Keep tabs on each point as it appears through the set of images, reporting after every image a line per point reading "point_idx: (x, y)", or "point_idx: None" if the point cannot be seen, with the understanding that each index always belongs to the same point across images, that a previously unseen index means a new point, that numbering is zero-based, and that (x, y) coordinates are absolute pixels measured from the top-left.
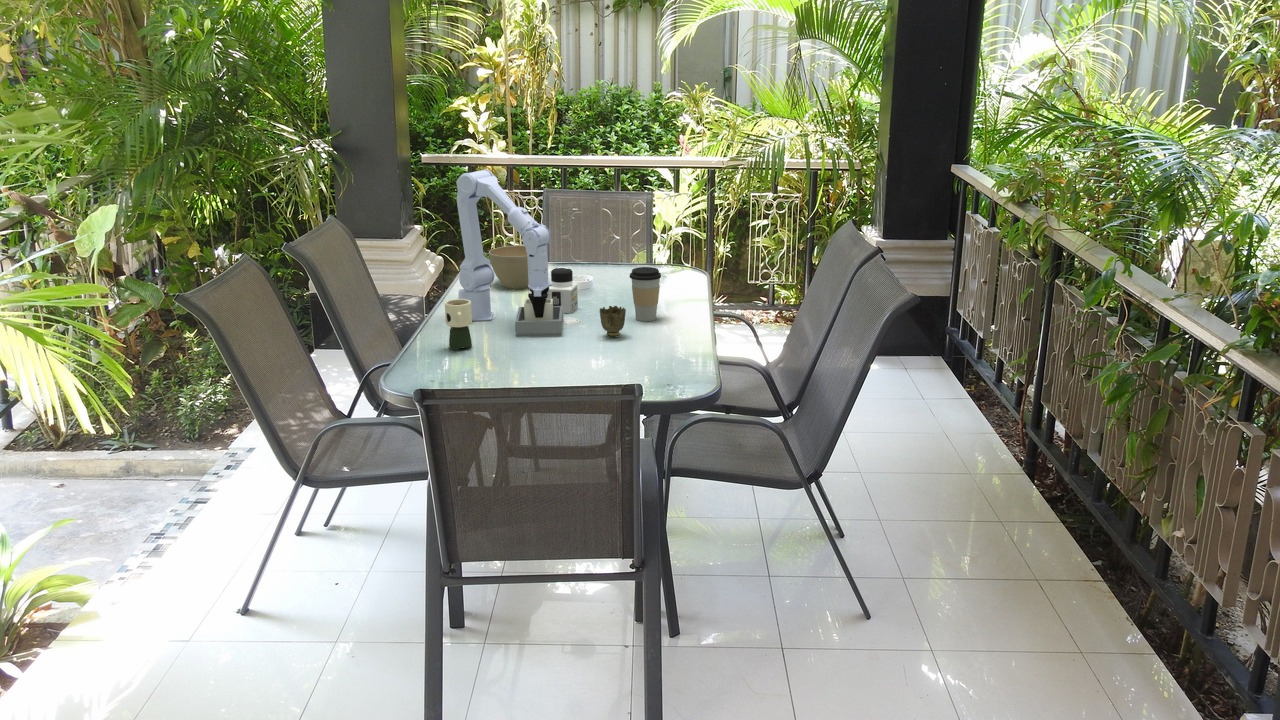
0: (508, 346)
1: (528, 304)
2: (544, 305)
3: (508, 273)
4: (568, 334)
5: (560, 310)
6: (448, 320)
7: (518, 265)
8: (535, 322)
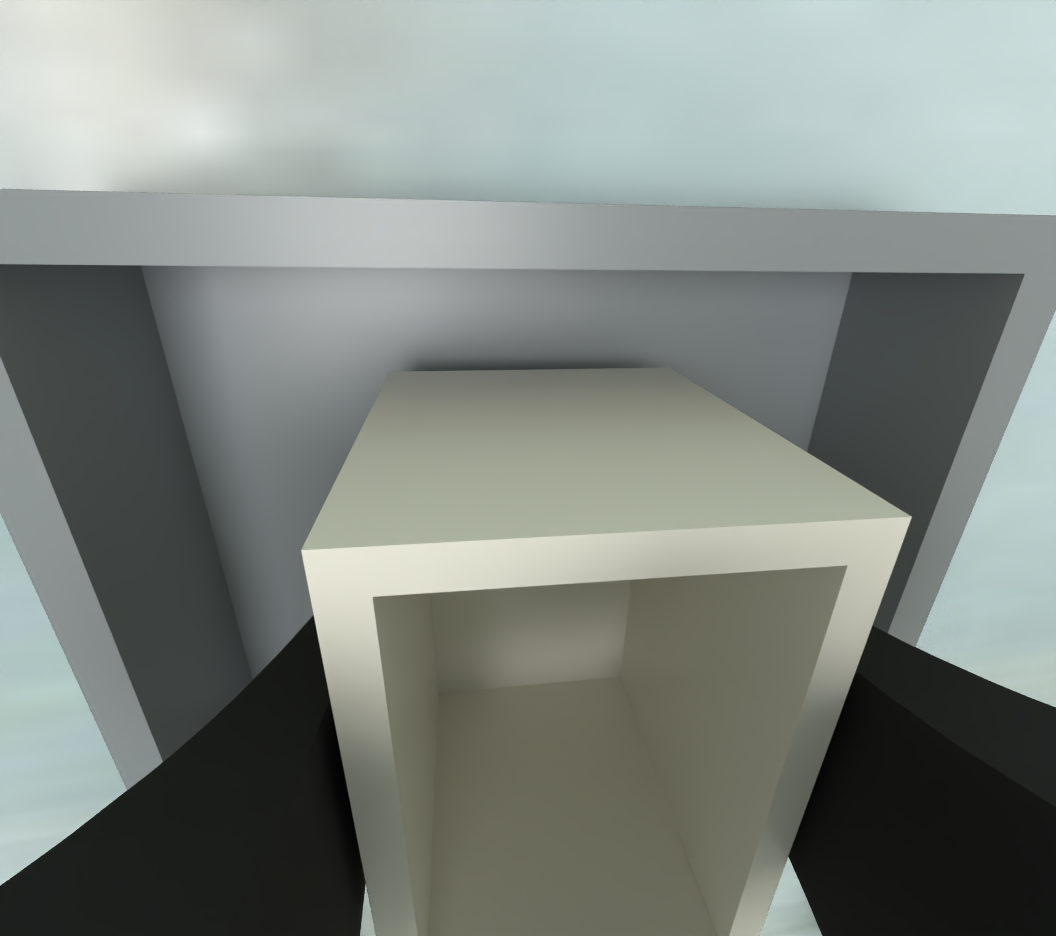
0: (972, 669)
1: (758, 910)
2: (945, 664)
3: None
4: (820, 126)
5: (320, 250)
6: None
7: None
8: (918, 602)
